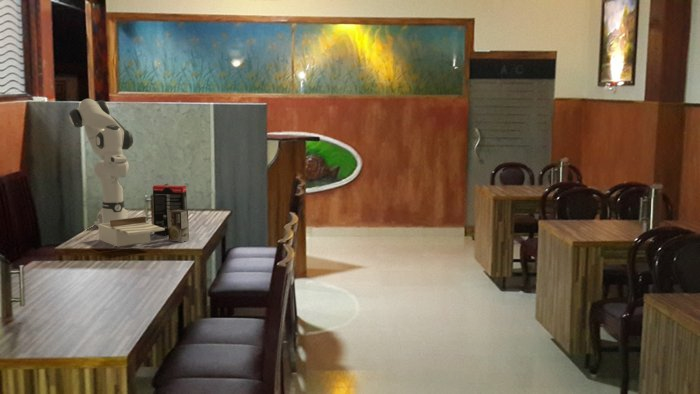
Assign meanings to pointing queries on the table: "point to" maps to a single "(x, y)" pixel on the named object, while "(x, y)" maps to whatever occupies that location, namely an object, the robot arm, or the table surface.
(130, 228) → the box lid
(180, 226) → the coffee box
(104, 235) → the gift box base
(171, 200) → the graphics card box
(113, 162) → the robot arm
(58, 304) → the table surface
